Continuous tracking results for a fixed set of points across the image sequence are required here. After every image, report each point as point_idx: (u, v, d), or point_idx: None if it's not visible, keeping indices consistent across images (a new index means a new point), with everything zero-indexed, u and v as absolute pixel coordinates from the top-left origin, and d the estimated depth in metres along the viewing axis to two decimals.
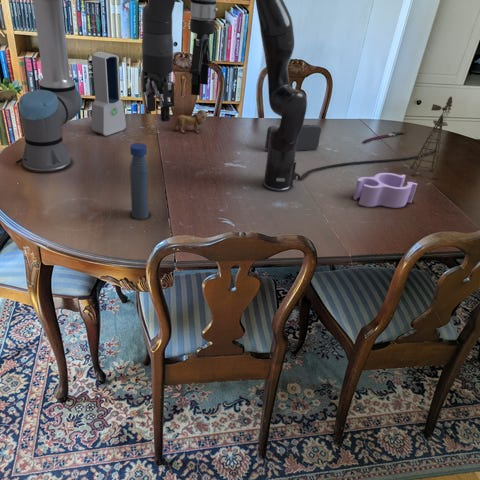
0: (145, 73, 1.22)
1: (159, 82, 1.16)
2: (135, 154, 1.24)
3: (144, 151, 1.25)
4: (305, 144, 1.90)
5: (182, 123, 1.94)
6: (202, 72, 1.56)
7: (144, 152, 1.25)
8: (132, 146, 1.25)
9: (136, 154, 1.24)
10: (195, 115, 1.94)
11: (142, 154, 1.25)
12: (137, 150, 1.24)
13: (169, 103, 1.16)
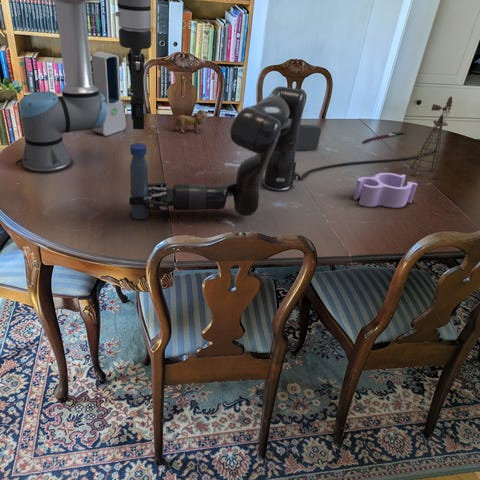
0: None
1: None
2: (135, 154, 1.24)
3: (144, 151, 1.25)
4: (305, 144, 1.90)
5: (182, 123, 1.94)
6: None
7: (144, 152, 1.25)
8: (132, 146, 1.25)
9: (136, 154, 1.24)
10: (195, 115, 1.94)
11: (142, 154, 1.25)
12: (137, 150, 1.24)
13: None
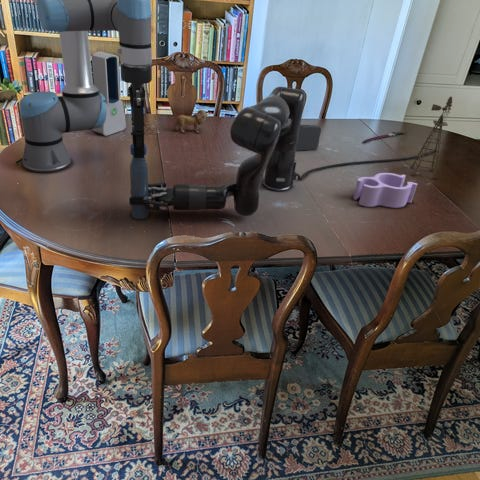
0: None
1: None
2: None
3: (144, 151, 1.25)
4: (305, 144, 1.90)
5: (182, 123, 1.94)
6: None
7: (144, 152, 1.25)
8: (132, 146, 1.25)
9: None
10: (195, 115, 1.94)
11: None
12: None
13: None
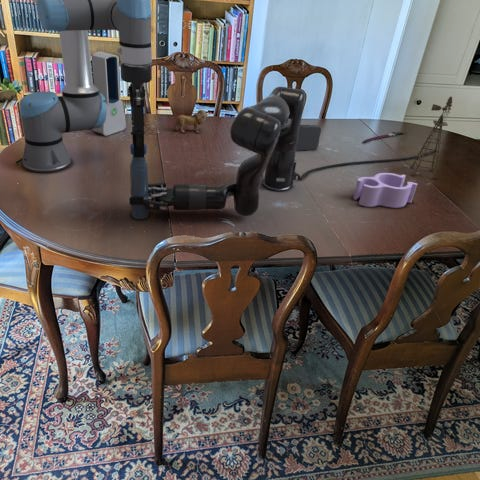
0: None
1: None
2: None
3: None
4: (305, 144, 1.90)
5: (182, 123, 1.94)
6: None
7: None
8: None
9: None
10: (195, 115, 1.94)
11: None
12: None
13: None
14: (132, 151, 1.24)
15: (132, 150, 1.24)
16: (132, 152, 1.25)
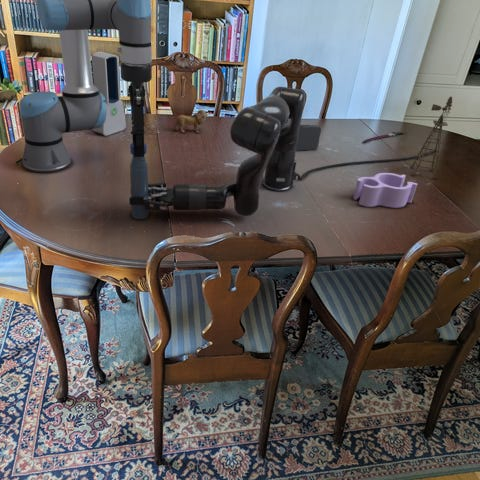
0: None
1: None
2: None
3: (132, 150, 1.24)
4: (305, 144, 1.90)
5: (182, 123, 1.94)
6: None
7: (132, 151, 1.24)
8: None
9: None
10: (195, 115, 1.94)
11: (131, 151, 1.25)
12: None
13: None
14: None
15: None
16: None
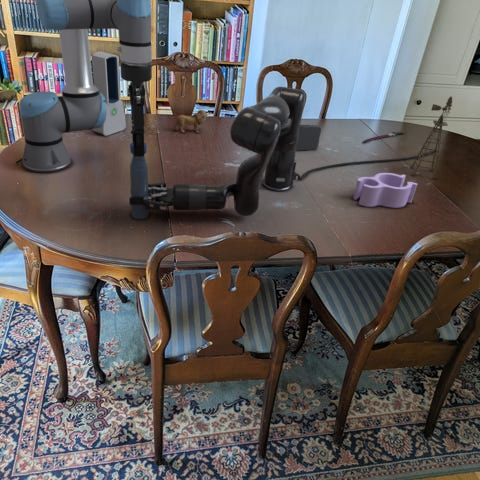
0: None
1: None
2: None
3: None
4: (305, 144, 1.90)
5: (182, 123, 1.94)
6: None
7: None
8: None
9: None
10: (195, 115, 1.94)
11: (145, 151, 1.26)
12: None
13: None
14: None
15: None
16: None
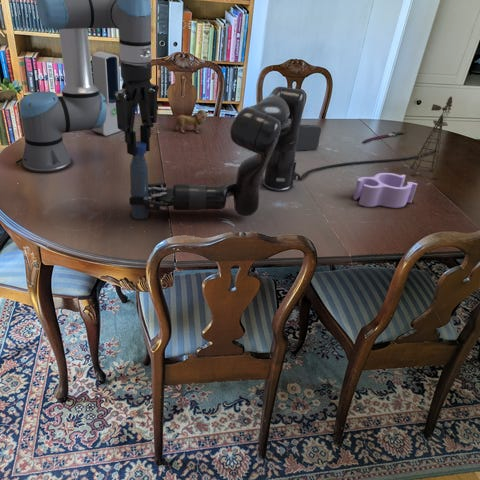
0: None
1: None
2: None
3: None
4: (305, 144, 1.90)
5: (182, 123, 1.94)
6: (142, 135, 1.26)
7: None
8: (144, 144, 1.25)
9: None
10: (195, 115, 1.94)
11: None
12: None
13: None
14: None
15: None
16: None
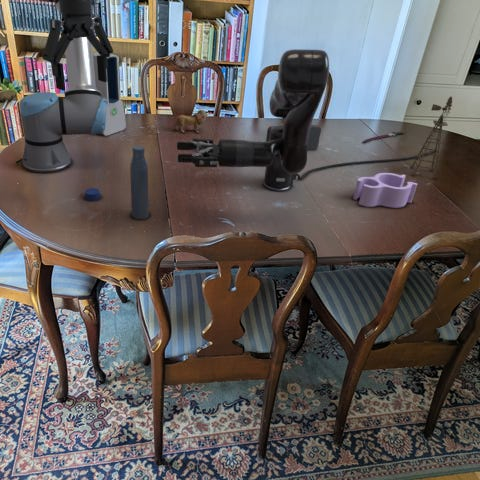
0: None
1: None
2: None
3: None
4: None
5: (182, 123, 1.94)
6: (99, 66, 1.27)
7: None
8: (97, 191, 1.42)
9: None
10: (195, 115, 1.94)
11: None
12: None
13: None
14: (89, 197, 1.41)
15: (89, 196, 1.41)
16: (89, 198, 1.41)
